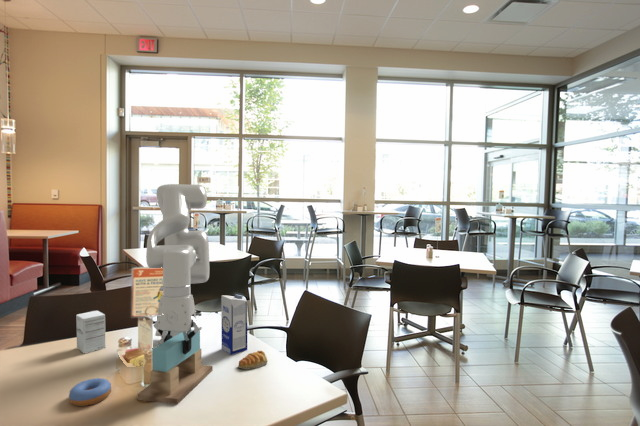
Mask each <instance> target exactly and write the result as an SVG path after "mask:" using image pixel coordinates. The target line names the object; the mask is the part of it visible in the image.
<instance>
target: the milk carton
mask: <svg viewBox="0 0 640 426" xmlns="http://www.w3.org/2000/svg"><path fill="white" fill-rule="evenodd" d="M220 298H221V299H220V301H221V304H220V305H221V350H223V351H224V352H226V354H229V355H235V354H238V353H241V352H245V351H248V300H247V299H244V298H243V295H241V294H234V296H232V295H221V297H220Z"/></svg>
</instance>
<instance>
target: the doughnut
mask: <svg viewBox="0 0 640 426" xmlns="http://www.w3.org/2000/svg"><path fill="white" fill-rule="evenodd" d="M111 391H112V385H111V382H110V381H109V380H108V379H105V378H99V377H96V378H90V379H86V380H82V381H80V382H79V383H77V384H75V385H74V386H73V387H72V388H71V389H70V391H69V394H68V397H69V398H68V400H69V402H70V403H71V404H72V405H74V406H77V405H78V407H85V406H91V405H92V406H93V405H94V404H95V405H96V404H97V403H101V402H102V401H103V400H105V399H106V398H108V396H109V395H110V394H111Z"/></svg>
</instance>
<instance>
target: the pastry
mask: <svg viewBox="0 0 640 426" xmlns="http://www.w3.org/2000/svg"><path fill="white" fill-rule="evenodd" d="M267 364H268V357H267V355H266V353H265V352H264V351H263V350H257V351H255V352H250V353H248V354H247V355H246V356H245V357H242V359H240V360H239V361H238V368H240V369H242V370H250V369H257V368H259V367H262V366H265V365H267Z"/></svg>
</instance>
